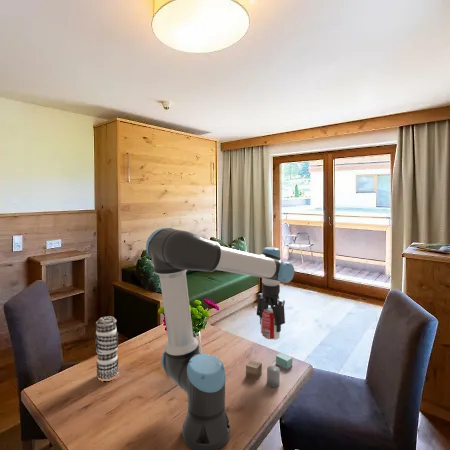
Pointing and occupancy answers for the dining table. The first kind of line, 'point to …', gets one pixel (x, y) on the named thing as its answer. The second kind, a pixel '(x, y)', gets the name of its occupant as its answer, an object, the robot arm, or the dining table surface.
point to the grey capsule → (273, 376)
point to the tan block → (253, 369)
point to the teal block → (284, 360)
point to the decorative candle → (106, 347)
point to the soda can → (268, 323)
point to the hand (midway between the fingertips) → (269, 335)
